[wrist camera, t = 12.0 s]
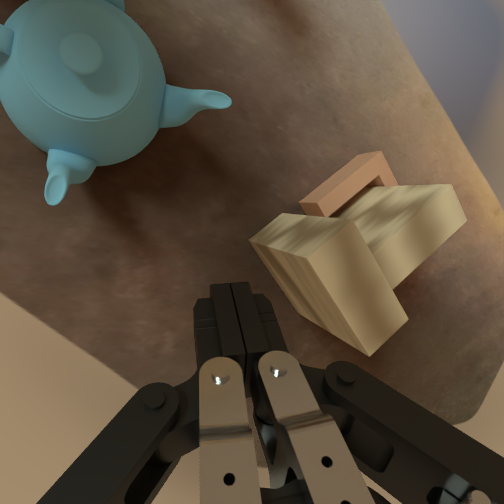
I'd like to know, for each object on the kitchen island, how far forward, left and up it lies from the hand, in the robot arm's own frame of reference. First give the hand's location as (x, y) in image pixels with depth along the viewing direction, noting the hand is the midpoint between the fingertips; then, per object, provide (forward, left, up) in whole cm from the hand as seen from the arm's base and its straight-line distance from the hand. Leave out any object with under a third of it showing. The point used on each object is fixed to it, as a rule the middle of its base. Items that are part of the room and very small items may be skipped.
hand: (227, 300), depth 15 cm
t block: (+19, +1, -24) cm, 31 cm away
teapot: (-5, +13, -24) cm, 28 cm away
